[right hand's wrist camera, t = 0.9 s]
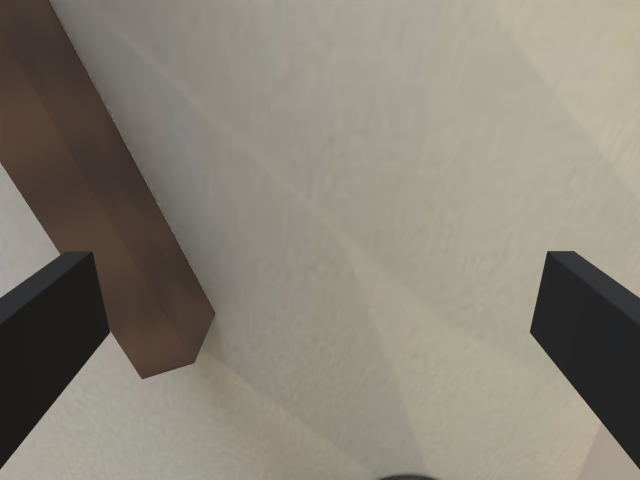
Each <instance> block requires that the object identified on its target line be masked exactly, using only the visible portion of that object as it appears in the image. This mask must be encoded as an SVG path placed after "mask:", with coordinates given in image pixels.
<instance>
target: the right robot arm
mask: <svg viewBox="0 0 640 480" xmlns="http://www.w3.org/2000/svg"><path fill="white" fill-rule="evenodd" d="M109 333H110V329H109V325H108V320H107V315H106V311H105V306H104V302H103V297H102V292H101V288H100V283H99V279H98V274H97V269H96V265H95V260H94V255H93V251H66V252H64V253H63V254H62V255H60V256H59V257H57V258H56V259H55V260H53V261H52V262H50V263H49V264H48V265H46V266H45V267H43V268H42V269H41V270H39V271H38V272H36V273H35V274H33V275H32V276H31V277H29V278H28V279H26V280H25V281H24V282H22V283H21V284H19V285H18V286H17V287H15V288H14V289H12V290H11V291H10V292H8V293H7V294H5V295H4V296H3V297H1V298H0V469H1V468H2V467H3V465H4V464H5V463H6V462H7V460H8V459H9V458H10V457H11V455H12V454H13V453H14V452H15V450H16V449H17V448H18V447H19V445H20V444H21V443H22V442H23V440H24V439H25V438H26V437H27V435H28V434H29V433H30V432H31V430H32V429H33V428H34V427H35V425H36V424H37V423H38V422H39V420H40V419H41V418H42V417H43V415H44V414H45V413H46V412H47V410H48V409H49V408H50V407H51V405H52V404H53V403H54V402H55V400H56V399H57V398H58V397H59V396H60V394H61V393H62V392H63V391H64V389H65V388H66V387H67V386H68V384H69V383H70V382H71V381H72V379H73V378H74V377H75V376H76V374H77V373H78V372H79V371H80V369H81V368H82V367H83V366H84V364H85V363H86V362H87V361H88V359H89V358H90V357H91V356H92V354H93V353H94V352H95V351H96V349H97V348H98V347H99V346H100V344H101V343H102V342H103V341H104V339H105V338H106V337H107V336H108V334H109ZM530 333H531V334H532V336H533V337H534V338H535V339H536V341H537V342H538V343H539V344H540V346H541V347H542V348H543V349H544V351H545V352H546V353H547V354H548V356H549V357H550V358H551V359H552V361H553V362H554V363H555V364H556V366H557V367H558V368H559V369H560V371H561V372H562V373H563V374H564V376H565V377H566V378H567V379H568V381H569V382H570V383H571V384H572V386H573V387H574V388H575V389H576V391H577V392H578V393H579V394H580V396H581V397H582V398H583V399H584V400H585V402H586V403H587V404H588V405H589V407H590V408H591V409H592V410H593V412H594V413H595V414H596V415H597V417H598V418H599V419H600V420H601V422H602V423H603V424H604V425H605V427H606V428H607V429H608V430H609V432H610V433H611V434H612V435H613V437H614V438H615V439H616V440H617V442H618V443H619V444H620V445H621V447H622V448H623V449H624V450H625V452H626V453H627V454H628V455H629V457H630V458H631V459H632V460H633V462H634V463H635V464H636V465H637V467H638V468H639V469H640V298H639V297H637V296H636V295H635V294H633V293H632V292H630V291H629V290H628V289H626V288H625V287H623V286H622V285H621V284H619V283H618V282H616V281H615V280H614V279H612V278H611V277H609V276H608V275H607V274H605V273H604V272H602V271H601V270H599V269H598V268H597V267H595V266H594V265H592V264H591V263H590V262H588V261H587V260H585V259H584V258H583V257H581V256H580V255H578V254H577V253H576V252H574V251H547V255H546V260H545V265H544V269H543V274H542V279H541V283H540V288H539V292H538V297H537V302H536V306H535V311H534V315H533V320H532V325H531V329H530ZM382 480H435V479H431V478H427V477H420V476H397V477H390V478H385V479H382Z"/></svg>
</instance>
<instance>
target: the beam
mask: <svg viewBox="0 0 640 480" xmlns="http://www.w3.org/2000/svg"><path fill="white" fill-rule="evenodd" d="M0 162H1V164H2V166H3V167H4V169H5V170H6V172H7V173H8V175H9V176H10V178H11V179H12V181H13V182H14V184H15V185H16V187H17V188H18V190H19V192H20V193H21V195H22V196H23V198H24V199H25V201H26V202H27V204H28V205H29V207H30V208H31V210H32V211H33V213H34V215H35V216H36V218H37V219H38V221H39V222H40V224H41V225H42V227H43V228H44V230H45V231H46V233H47V234H48V236H49V238H50V239H51V241H52V242H53V244H54V245H55V247H56V248H57V250H58V251H59V253H60V254H61V255H62V254H63V253H64V252H66V251H93V255H94V260H95V265H96V269H97V274H98V279H99V283H100V288H101V292H102V297H103V302H104V306H105V311H106V315H107V320H108V325H109V329H110V331H111V332H112V334H113V336H114V337H115V339H116V340H117V342H118V343H119V345H120V346H121V348H122V349H123V351H124V352H125V354H126V355H127V357H128V359H129V360H130V362H131V363H132V365H133V366H134V368H135V369H136V371H137V372H138V374H139V375H140V377H141V378H142V379H145V378H148V377H151V376H154V375H157V374H161V373H164V372H167V371H170V370H173V369H177V368H180V367H183V366H186V365H190V364H193V363H194V362H195V360H196V358H197V355H198V353H199V351H200V348H201V346H202V344H203V341H204V339H205V337H206V334H207V332H208V330H209V327H210V325H211V323H212V320H213V318H214V315H215V312H214V310H213V308H212V306H211V304H210V303H209V301H208V299H207V297H206V295H205V293H204V291H203V289H202V288H201V286H200V284H199V282H198V280H197V278H196V276H195V274H194V273H193V271H192V269H191V267H190V265H189V263H188V261H187V259H186V258H185V256H184V254H183V252H182V250H181V248H180V246H179V244H178V243H177V241H176V239H175V237H174V235H173V233H172V231H171V229H170V228H169V226H168V224H167V222H166V220H165V218H164V216H163V214H162V213H161V211H160V209H159V207H158V205H157V203H156V201H155V199H154V197H153V196H152V194H151V192H150V190H149V188H148V186H147V184H146V182H145V181H144V179H143V177H142V175H141V173H140V171H139V169H138V167H137V166H136V164H135V162H134V160H133V158H132V156H131V154H130V152H129V151H128V149H127V147H126V145H125V143H124V141H123V139H122V137H121V136H120V134H119V132H118V130H117V128H116V126H115V124H114V122H113V121H112V119H111V117H110V115H109V113H108V111H107V109H106V107H105V106H104V104H103V102H102V100H101V98H100V96H99V94H98V92H97V91H96V89H95V87H94V85H93V83H92V81H91V79H90V77H89V76H88V74H87V72H86V70H85V68H84V66H83V64H82V62H81V61H80V59H79V57H78V55H77V53H76V51H75V49H74V47H73V46H72V44H71V42H70V40H69V38H68V36H67V34H66V32H65V31H64V29H63V27H62V25H61V23H60V21H59V19H58V17H57V16H56V14H55V12H54V10H53V8H52V6H51V4H50V2H49V1H48V0H0Z"/></svg>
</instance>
